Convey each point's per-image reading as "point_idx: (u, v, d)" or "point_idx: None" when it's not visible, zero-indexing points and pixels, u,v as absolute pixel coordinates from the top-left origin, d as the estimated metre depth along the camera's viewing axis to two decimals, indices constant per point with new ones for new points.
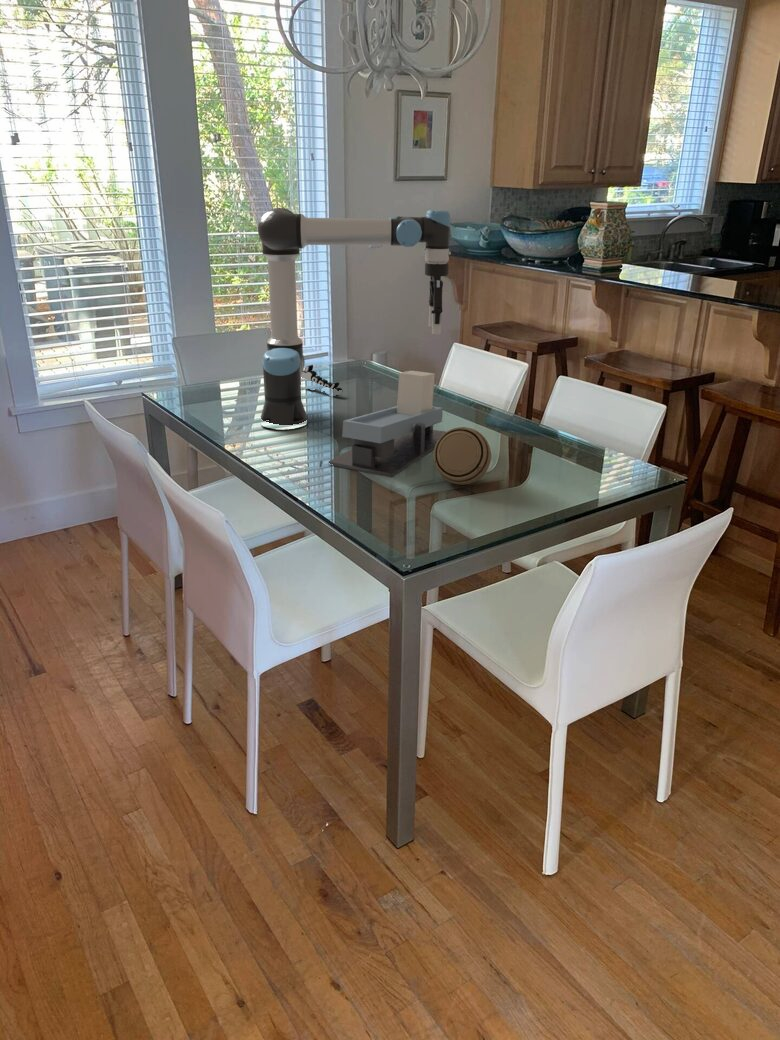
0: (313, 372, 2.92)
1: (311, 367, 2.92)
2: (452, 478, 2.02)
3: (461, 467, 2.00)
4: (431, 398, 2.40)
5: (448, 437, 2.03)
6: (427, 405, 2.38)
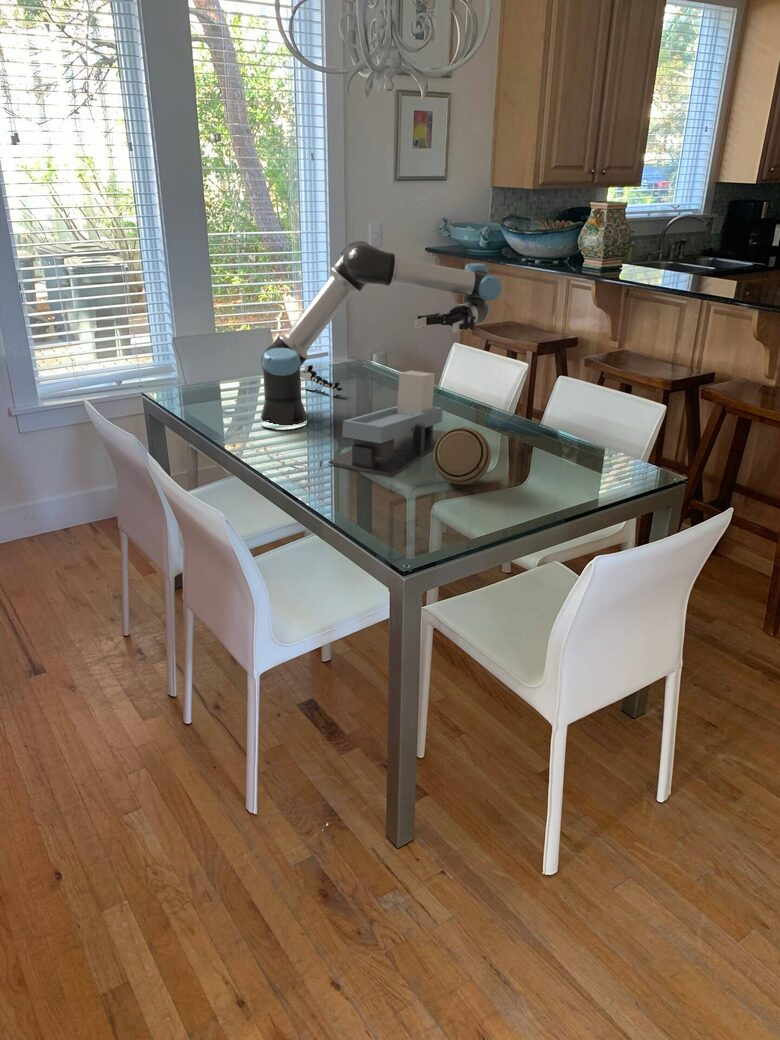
0: (313, 372, 2.92)
1: (310, 367, 2.92)
2: (452, 478, 2.02)
3: (461, 467, 2.00)
4: (431, 398, 2.40)
5: (448, 437, 2.03)
6: (427, 405, 2.38)
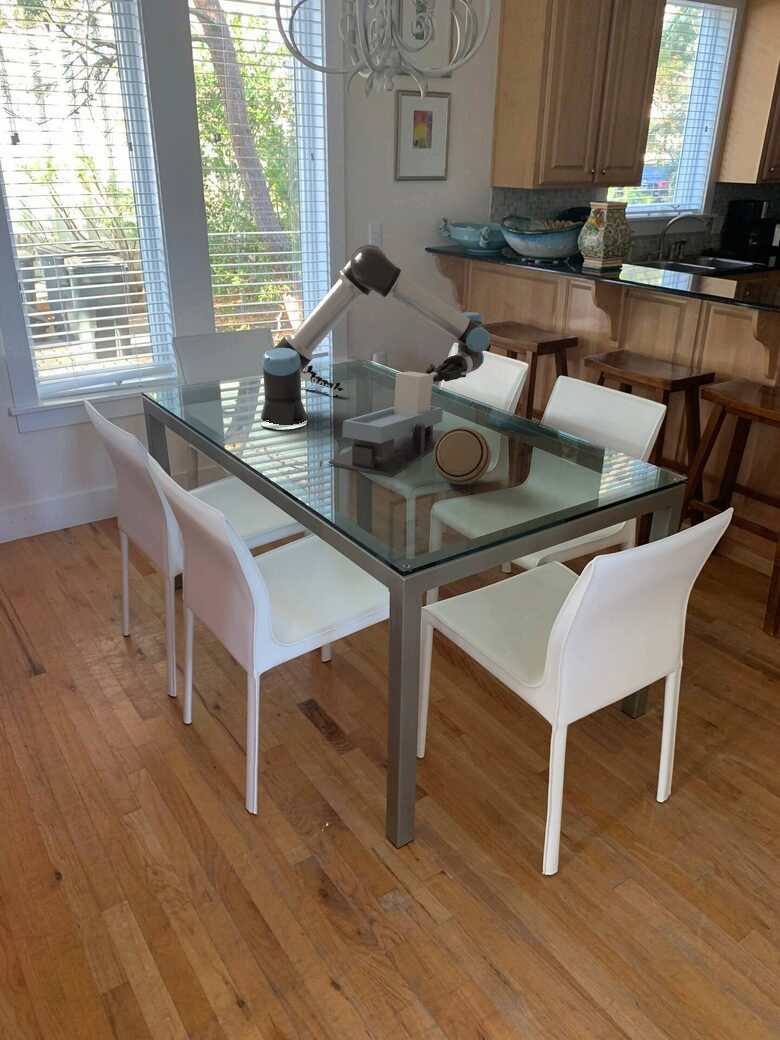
0: (313, 372, 2.92)
1: (310, 367, 2.92)
2: (452, 478, 2.02)
3: (461, 467, 2.00)
4: (429, 399, 2.37)
5: (448, 437, 2.03)
6: (424, 406, 2.36)
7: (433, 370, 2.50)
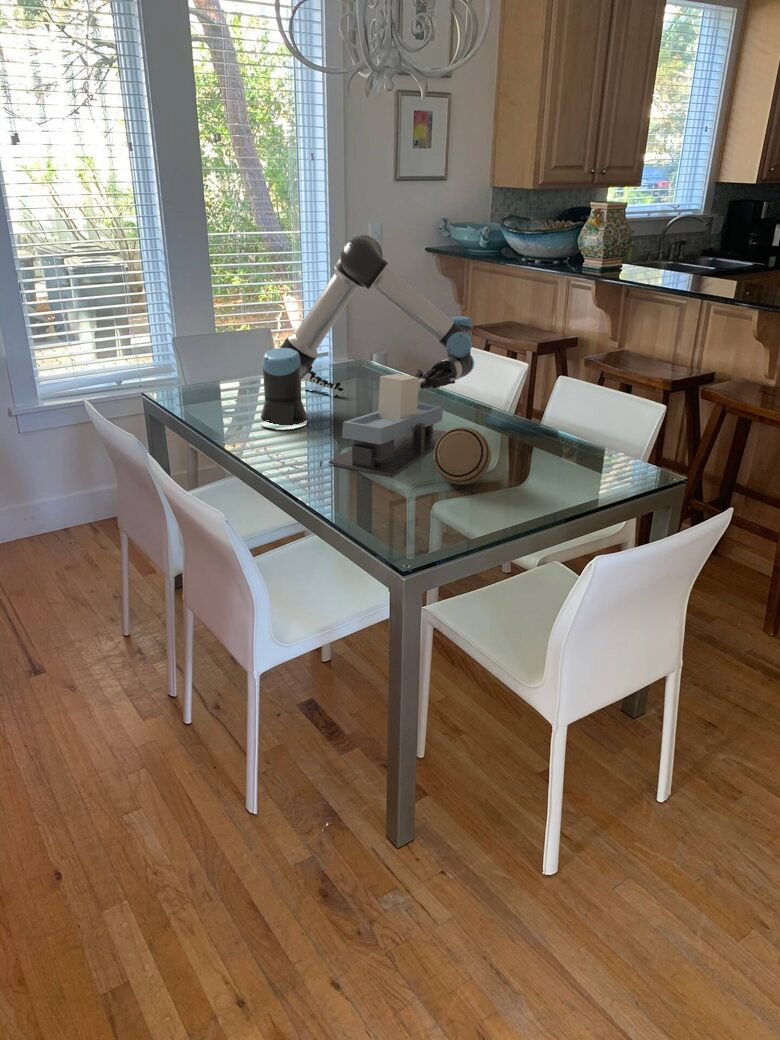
0: (312, 373, 2.92)
1: (310, 367, 2.91)
2: (452, 478, 2.02)
3: (461, 467, 2.00)
4: (415, 403, 2.29)
5: (448, 437, 2.03)
6: (409, 411, 2.28)
7: (421, 376, 2.42)
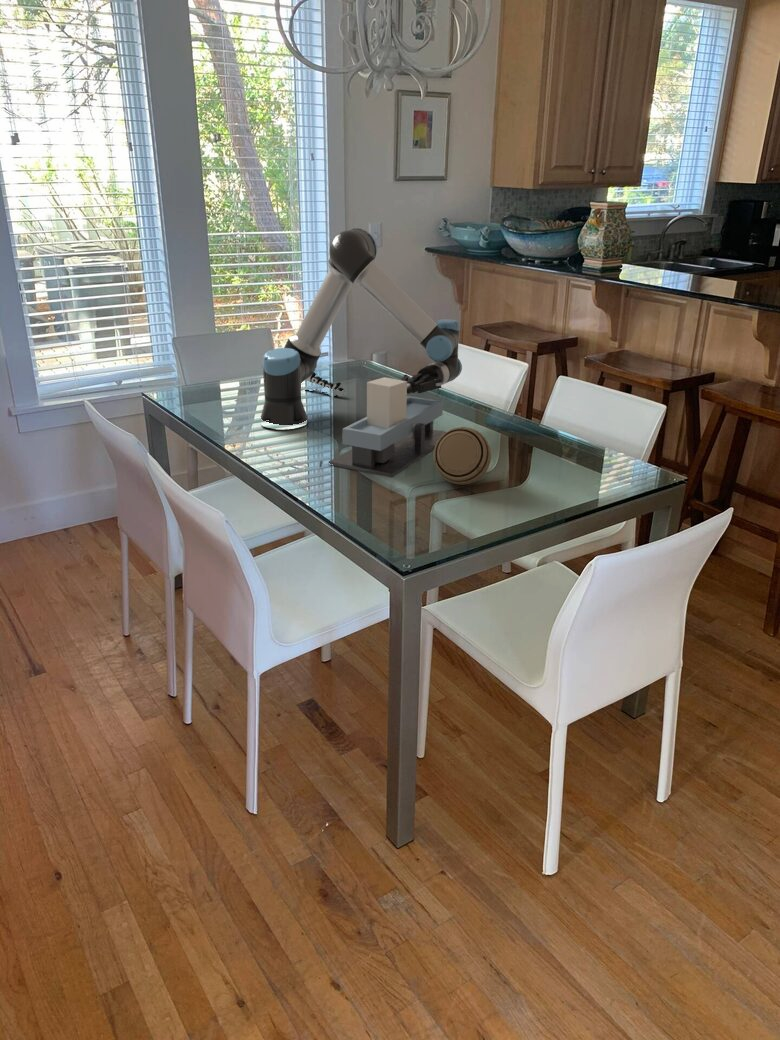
0: None
1: None
2: (452, 478, 2.02)
3: (461, 467, 2.00)
4: (404, 407, 2.23)
5: (448, 437, 2.03)
6: (398, 416, 2.22)
7: (407, 381, 2.37)
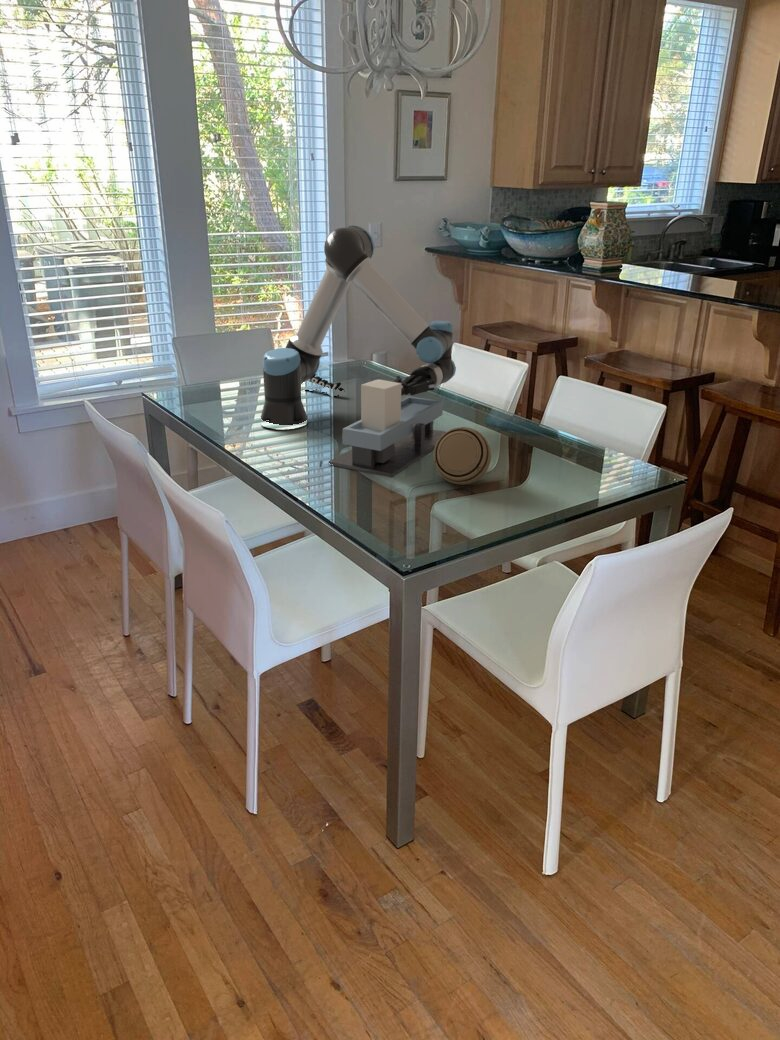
0: None
1: None
2: (452, 478, 2.02)
3: (461, 467, 2.00)
4: (398, 410, 2.21)
5: (448, 437, 2.03)
6: (393, 418, 2.20)
7: (399, 382, 2.35)
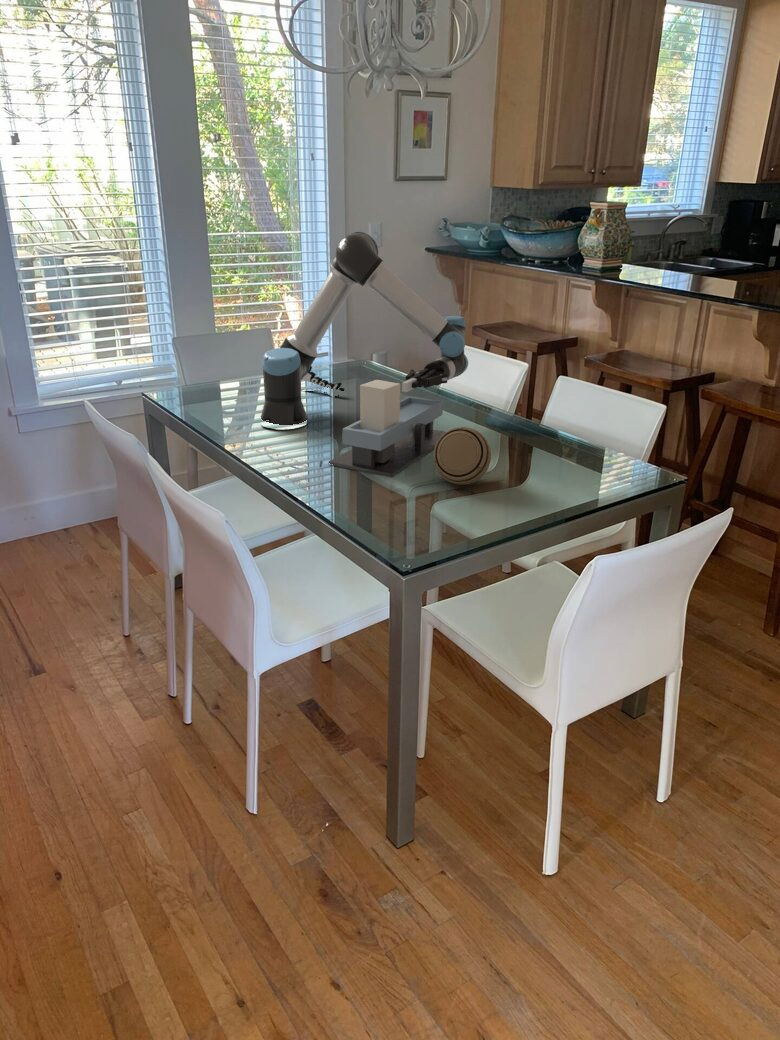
0: (312, 373, 2.91)
1: None
2: (452, 478, 2.02)
3: (461, 467, 2.00)
4: (397, 410, 2.21)
5: (448, 437, 2.03)
6: (392, 419, 2.20)
7: (413, 376, 2.43)
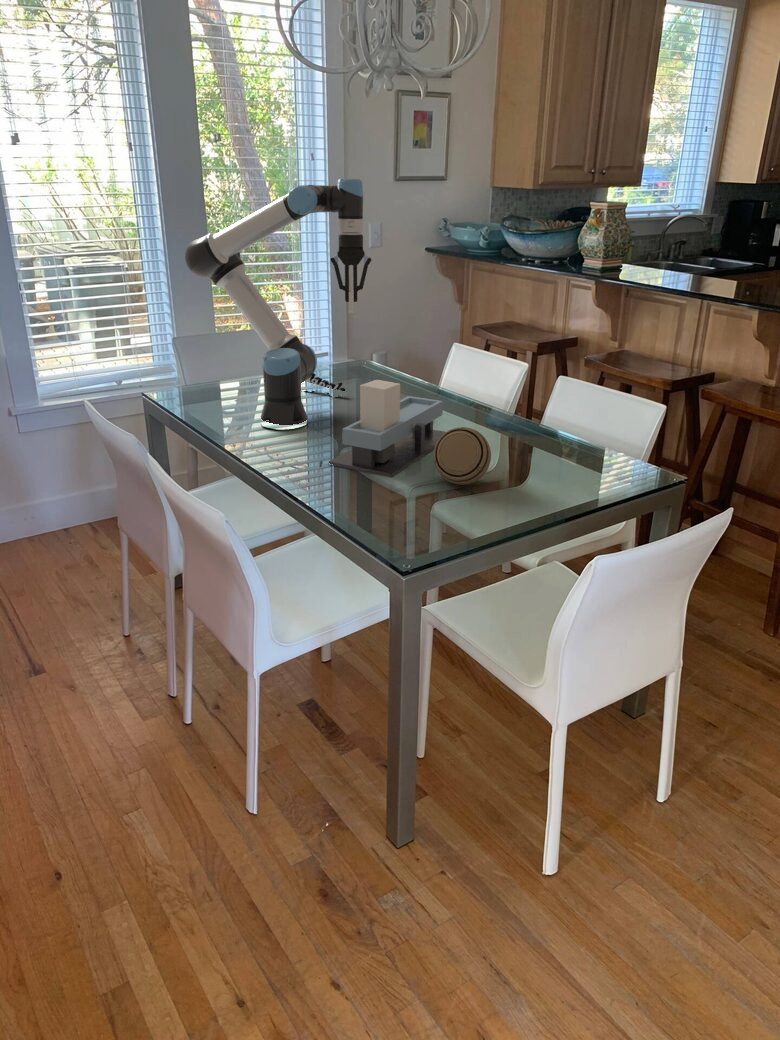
0: None
1: None
2: (452, 478, 2.02)
3: (461, 467, 2.00)
4: (397, 410, 2.21)
5: (448, 437, 2.03)
6: (392, 419, 2.20)
7: (363, 268, 2.45)
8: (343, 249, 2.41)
